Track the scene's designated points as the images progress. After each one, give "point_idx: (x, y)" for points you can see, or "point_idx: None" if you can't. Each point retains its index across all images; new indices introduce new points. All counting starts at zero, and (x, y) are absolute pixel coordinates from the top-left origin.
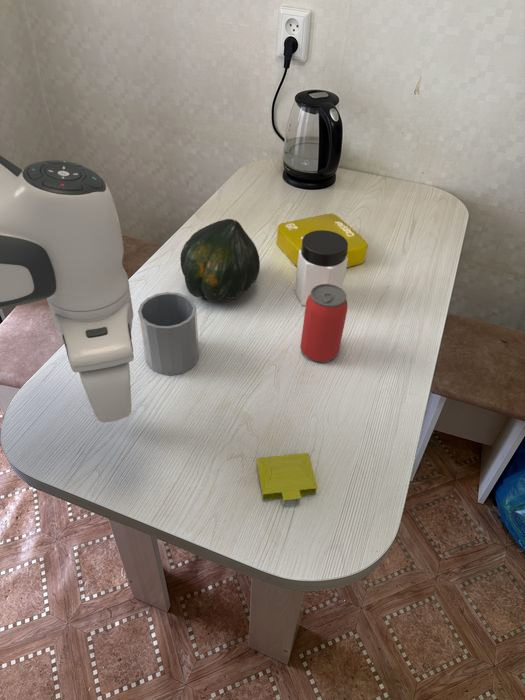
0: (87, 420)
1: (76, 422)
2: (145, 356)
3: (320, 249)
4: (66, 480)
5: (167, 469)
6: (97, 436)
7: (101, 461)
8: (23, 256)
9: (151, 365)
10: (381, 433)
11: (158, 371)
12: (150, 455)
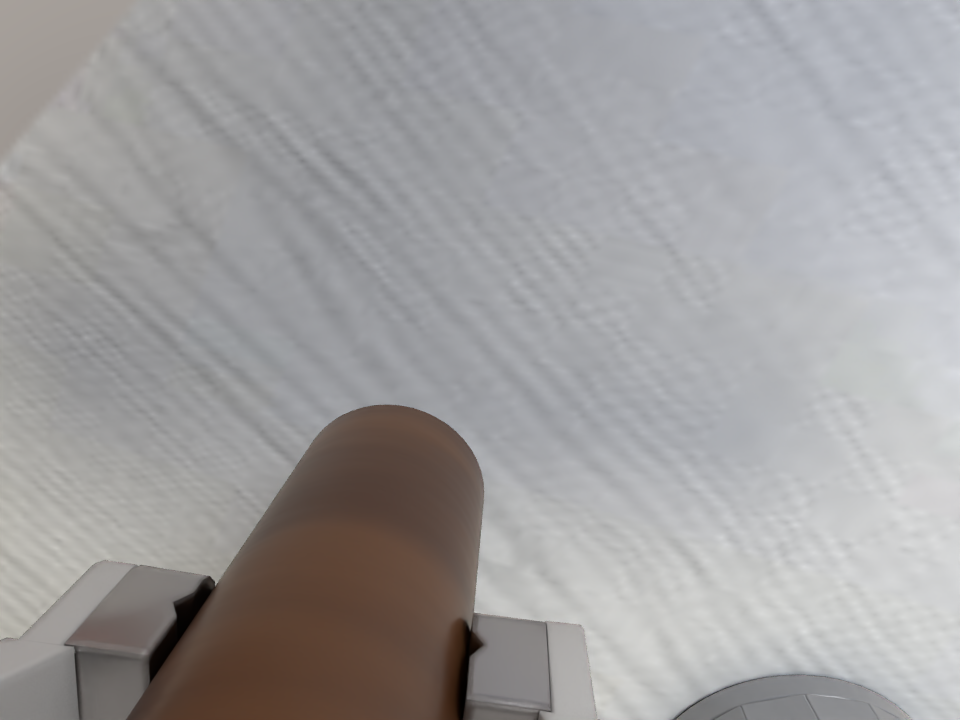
0: (549, 265)
1: (564, 200)
2: (853, 701)
3: None
4: (159, 48)
5: (77, 537)
6: (405, 288)
7: (225, 265)
8: None
9: (756, 709)
10: None
11: (705, 710)
12: (181, 496)
